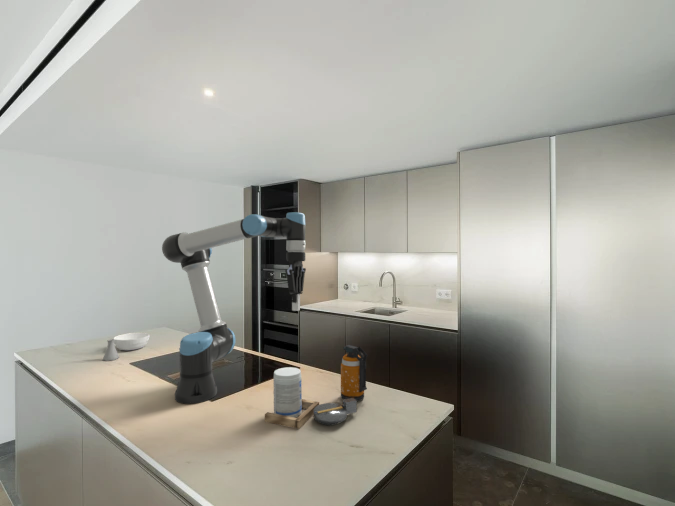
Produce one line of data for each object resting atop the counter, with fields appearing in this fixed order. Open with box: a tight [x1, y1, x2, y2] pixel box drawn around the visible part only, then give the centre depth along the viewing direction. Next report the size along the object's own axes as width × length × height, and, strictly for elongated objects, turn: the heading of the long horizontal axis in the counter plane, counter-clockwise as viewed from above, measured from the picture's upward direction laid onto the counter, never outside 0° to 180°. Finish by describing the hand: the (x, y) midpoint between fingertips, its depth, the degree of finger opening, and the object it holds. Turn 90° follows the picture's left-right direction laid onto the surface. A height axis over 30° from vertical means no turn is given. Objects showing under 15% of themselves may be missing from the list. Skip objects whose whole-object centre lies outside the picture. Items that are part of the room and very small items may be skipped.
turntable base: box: [321, 423, 339, 426], centre depth 116 cm, size 7×7×1 cm
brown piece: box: [264, 398, 320, 430], centre depth 120 cm, size 13×15×2 cm
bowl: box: [112, 332, 151, 351], centre depth 202 cm, size 18×18×7 cm
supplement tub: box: [273, 366, 303, 418], centre depth 121 cm, size 10×10×15 cm
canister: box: [340, 344, 368, 402], centre depth 133 cm, size 9×11×20 cm
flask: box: [102, 338, 120, 362], centre depth 182 cm, size 7×7×10 cm
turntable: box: [313, 398, 357, 425], centre depth 117 cm, size 15×11×4 cm
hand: (296, 310), depth 140 cm, fingers closed
